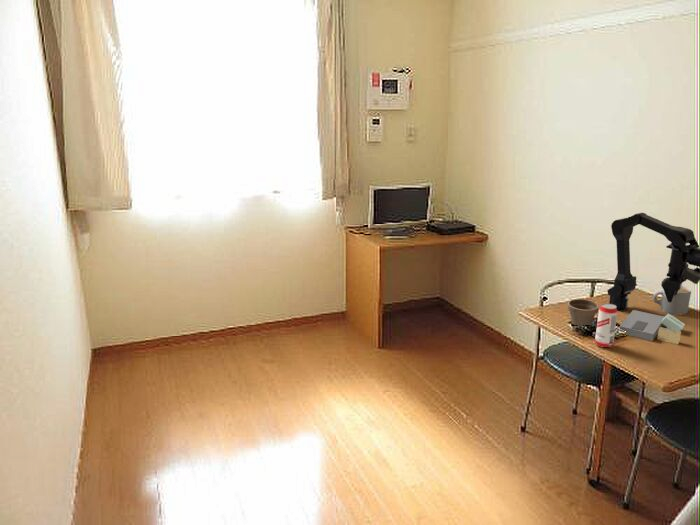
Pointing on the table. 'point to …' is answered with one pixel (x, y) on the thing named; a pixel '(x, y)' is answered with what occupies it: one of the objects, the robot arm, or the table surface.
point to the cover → (672, 322)
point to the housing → (642, 325)
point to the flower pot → (582, 311)
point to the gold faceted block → (669, 335)
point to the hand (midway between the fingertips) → (672, 298)
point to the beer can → (606, 325)
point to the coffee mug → (674, 301)
